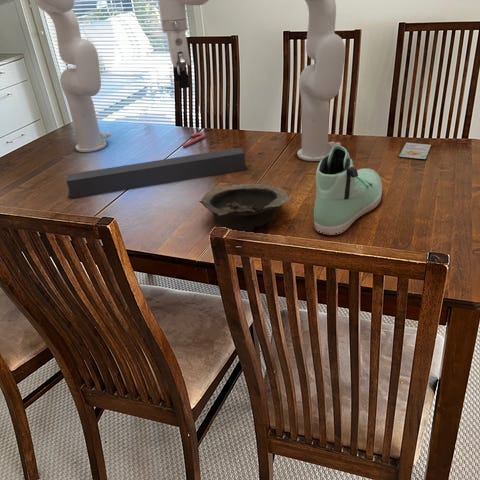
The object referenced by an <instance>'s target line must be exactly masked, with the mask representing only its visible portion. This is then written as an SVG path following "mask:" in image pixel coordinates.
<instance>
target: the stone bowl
mask: <svg viewBox="0 0 480 480" xmlns="http://www.w3.org/2000/svg"><path fill="white" fill-rule="evenodd" d="M288 201H290V197H289V195H288V194H287V192H286V191H285V190H284V189H282V188H281V187H278V186H273V185H270V184H262V183H241V184H237V183H236V184H229V185H225V186H221V187H218V188H213V189H211V190H209V191H208V192H206V193H205V194H204V195H203V197H202V198H201V200H198V202H199V203H200V204H201V205H202V206H204V208H206V209H207V210H208V211H210V212H211V213H212V216H213V220H214V222H215V223H216V224H218V225H219V227H220V228H221V227H226V228H229V229H232V230H237V231H245V232H249V233H252V232H254V230H255V228H256V227H263V225H271V224H272V223H273V222H274V220H275V216H276V213H277V209H278V208H280V207H281V206H284V205H285V204H287V202H288Z"/></svg>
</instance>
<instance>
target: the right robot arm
mask: <svg viewBox="0 0 480 480" xmlns="http://www.w3.org/2000/svg"><path fill="white" fill-rule="evenodd" d="M304 1H305V3H306V6H307V10H308V23H307V35H306V42H305V51H306V55H307V56H308V57H309V59H311V60H313V61H314V62H315V64H312V63H311V64H309V65H306V67H304V68H303V70H302V71H301V73H300V74H299V75H300V76H299V80H298V81H299V82H298V83H299V86H298V87H299V94H300V102H301V103H300V104H301V105H300V106H301V107H300V108H301V119H300V120H301V148H300V149H298V150H297V154H296V155H297V157H298V158H299V159H300V160H303V161H307V162H320V161H321V160H322V159H324V158H325V157H326V156H327V155H329V154H330V152H331V149H332V148H333V147H334V146H342V144H341V142H335V141H329V129H330V128H329V124H330V121H329V120H330V101H331V100H333V99H334V98H335V97H336V96H337V95H338V93H339V92H340V89H341V86H342V80H343V74H344V67H345V60H346V45H345V42H344V40H343V38H342V37H341V36H339V34H337V33H335V32H336V31H335V29H336V21H337V20H336V19H337V5H336V0H304ZM208 2H209V0H158V8H159V13H160V14H159V15H160V20H161V21H160V22H161V28H162V29H161V30H162V33H164V34H166V37H167V43H168V45H167V46H168V52H169V57H170V61H171V64H172V65H173V76H174V77H173V78H174V81H175V82H177V83H178V88H179V89H188V88H190V86H191V85H190V77H189V73H188V67H190V66H191V59H190V53H189V45H188V39H187V35H186V32H187V31H189V27H188V20H187V17H188V16H187V9H186V6H202V5H203V6H204V5H205V4H206V3H208ZM187 66H188V67H187Z"/></svg>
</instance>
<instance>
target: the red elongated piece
mask: <svg viewBox="0 0 480 480" xmlns="http://www.w3.org/2000/svg"><path fill="white" fill-rule="evenodd" d="M190 137H191V138H193V139H191V140H189V141H187V142H185V143H182V147H183V148H187V147H189V146H191V145H193V144H194V143H197V142H199V141H200V140H203V139H204V138H206V134H205V133H204V132H194V133H192V134H190Z"/></svg>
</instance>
